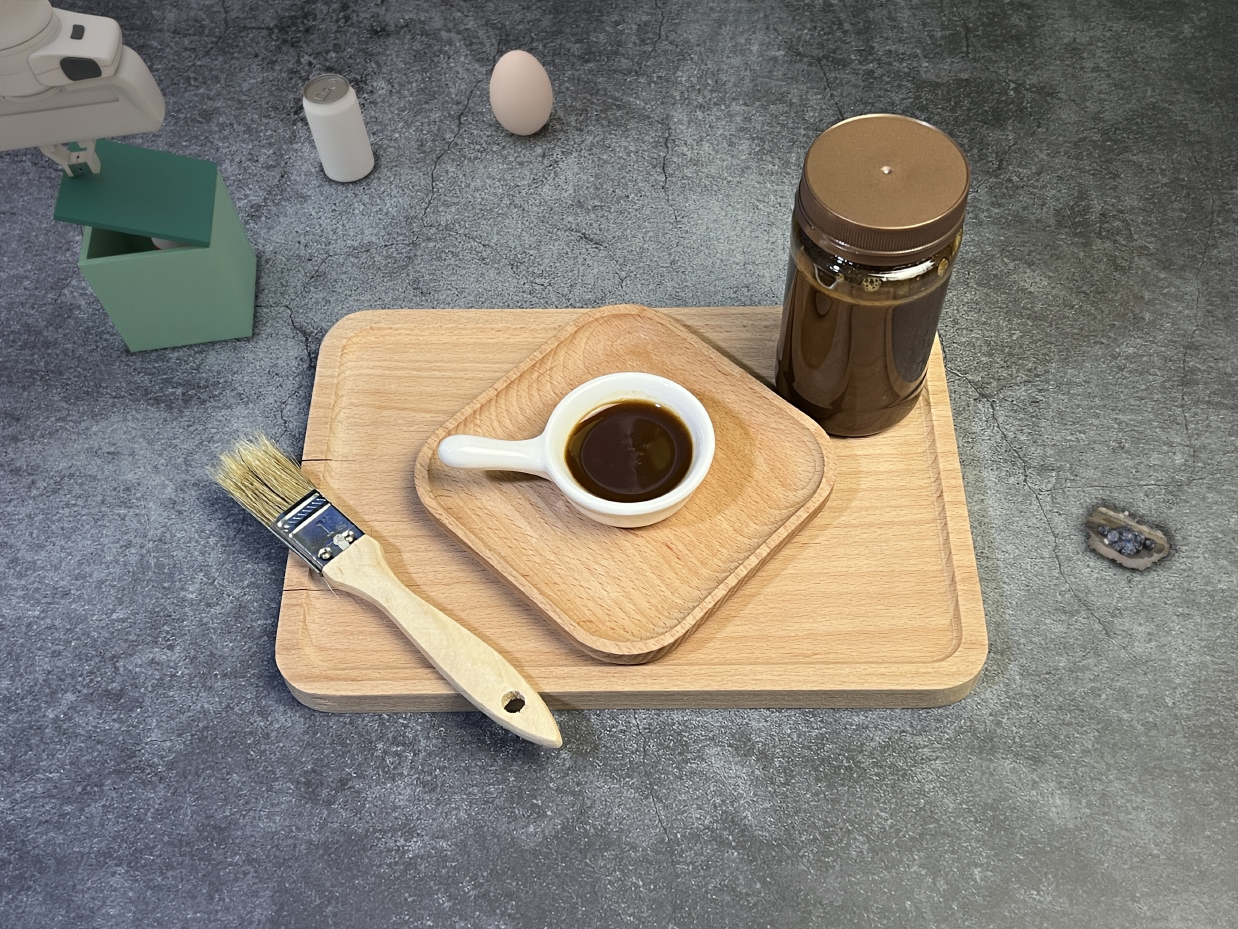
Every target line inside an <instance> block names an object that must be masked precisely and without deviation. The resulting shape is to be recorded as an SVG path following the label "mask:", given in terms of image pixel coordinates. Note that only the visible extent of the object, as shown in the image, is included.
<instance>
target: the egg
mask: <svg viewBox="0 0 1238 929" xmlns="http://www.w3.org/2000/svg"><path fill="white" fill-rule="evenodd" d="M552 88H553V87H552V83H551V80H550V78H549V76H548V73H547V71H546V70H545V68H544V67H543V65H542V64H541V63H540V61H539V60H538V59H537V58H536V57H535V56H534V55H533V54H531V53H529V52H527V51H525V50H521V49H517V50H516V49H515V50H511V51H508V52H506V53H505V54H503V55H502V56H501V57H500V59H499V60H498V61H497V62H496V64H495V65H494V69H493V71H492V74H491V77H490V81H489V89H488V90H489V101H490V106H491V109H492V112H493V114H494V117H495V118H496V120H497V121H498V123H500V125H501V126H502V127H503V128H504V129H505V130H507V131H509V132H510V133H512V134H514V135H518V136H530V135H533V134H535V133H536V132H539V131H540V130H541V129H542V128H543V127H544V126H545V124H546V123H547V121H548V120H549V119H550V116H551V113H552V110H553V104H554V95H553V94H554V93H553V89H552Z"/></svg>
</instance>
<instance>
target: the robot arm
mask: <svg viewBox="0 0 1238 929" xmlns="http://www.w3.org/2000/svg"><path fill="white" fill-rule="evenodd" d="M156 81H157V80H156V79H155V78H154V76H153V74H152V73H151V71H150V70H149V68H148V66H147V65H146V63H145V62H144V60H143V59H142V57H141V56H140V55H139V54H138V53H137V52H136V51H135V50H133V49H132V48H131V47H129V46H127V45H125V44H123V32H122V28H121V26H120V24H119V23H118V22H117V20H115V19H114V18H111V17H107V16H100V15H93V14H87V13H81V12H75V11H70V10H65V9H62V8H58V7H53V6H52V4H51V2H50V1H49V0H0V152H5V151H14V150H15V151H16V150H23V149H31V148H37V147H38V148H39V151H40V152H41V153H42V154H43V155H44V156H46V157H47V158H49V159H50V160H52V161H54V162H55V163H57V164H58V165H60V166H62V167H63V170H64V169H65V171H66V172H67V174H68V176H69V177H72V176H80V175H86V174H96V173H100V168H101V163H100V160H99V158H98V157H97V155H96V153H95V146H96V140H97V139H108V138H114V137H122V136H130V135H137V134H147V133H153V132H158V131H159V130H160V129H161V127H162V125H163V123H164V120H165V116H166V100H165V98H164V95H163V93H162V91H161V89H160V87H159V84H158V83H157V82H156ZM70 142H77V143H78V145H79V146H80V148H86V147H87V150H86V151H80V152H70V151H69V150H68V148H66V147H65V146H64V145H62V144H69V143H70Z"/></svg>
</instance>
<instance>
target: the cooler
mask: <svg viewBox="0 0 1238 929" xmlns="http://www.w3.org/2000/svg"><path fill="white" fill-rule="evenodd" d="M78 256H79V257H78V262H77V266H78V268H79V270H80V272H81V273H82V275H83V277H84V278H85V280H86V282H87V283H88V284H89V286H90V288H91V290H92V291H93V293H94V294H95V296H96V298H97V300H98V301H99V302H100V304H101V306H102V308H103V309H104V310H105V313H106V314H107V315H108V317H109V318H110V321H111V322H112V324H113V325H114V327H115V328H116V330H117V332H118V333H119V335H120V337H121V338H122V340H123V341H124V343H125V345H126V346H127V348H128V350H129V351H130V353H135V352H143V351H150V350H158V349H159V350H160V349H167V348H172V347H181V346H188V345H196V344H202V343H210V342H217V341H225V340H232V339H239V338H246V337H247V338H248V337H253V325H254V312H255V295H256V281H257V280H256V278H257V265H258V258H257V256H256V253H255V251H254V249H253V247H252V244H251V242H250V239H249V237H248V235H247V232H246V230H245V228H244V225H243V223H242V221H241V218H240V216H239V213H238V211H237V209H236V206H235V204H234V202H233V199H232V197H231V195H230V192H229V191H228V188H227V186H226V183H225V182H224V179H223V176H222V174H221V172H220V169H219V168H217V172H216V182H215V192H214V202H213V212H212V222H211V232H210V242H209V247H203V246H198V245H194V246H186V247H178V248H171V249H163V250H157V249H156V247H155V245H154V243H153V241H152V237H146V236H141V235H135V234H129V233H124V232H118V231H112V230H107V229H101V228H95V227H89V226H85V227H84V231H83V237H82V242H81V247H80V252H79V255H78Z"/></svg>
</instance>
